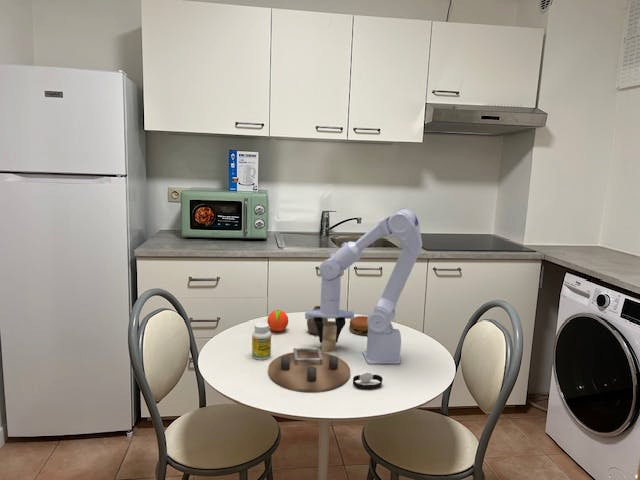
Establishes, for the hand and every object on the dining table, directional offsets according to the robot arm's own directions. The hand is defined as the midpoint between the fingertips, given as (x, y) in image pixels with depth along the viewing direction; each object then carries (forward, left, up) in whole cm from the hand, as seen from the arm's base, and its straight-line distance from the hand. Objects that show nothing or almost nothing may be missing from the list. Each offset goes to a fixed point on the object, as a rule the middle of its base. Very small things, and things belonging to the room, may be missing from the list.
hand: (328, 341), depth 141 cm
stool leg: (0, 0, -2) cm, 2 cm away
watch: (-7, +23, -3) cm, 24 cm away
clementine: (+15, -14, -3) cm, 21 cm away
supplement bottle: (+20, +5, -3) cm, 21 cm away
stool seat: (+7, +15, -2) cm, 17 cm away
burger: (-14, -14, -3) cm, 20 cm away
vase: (+2, -13, -3) cm, 13 cm away
